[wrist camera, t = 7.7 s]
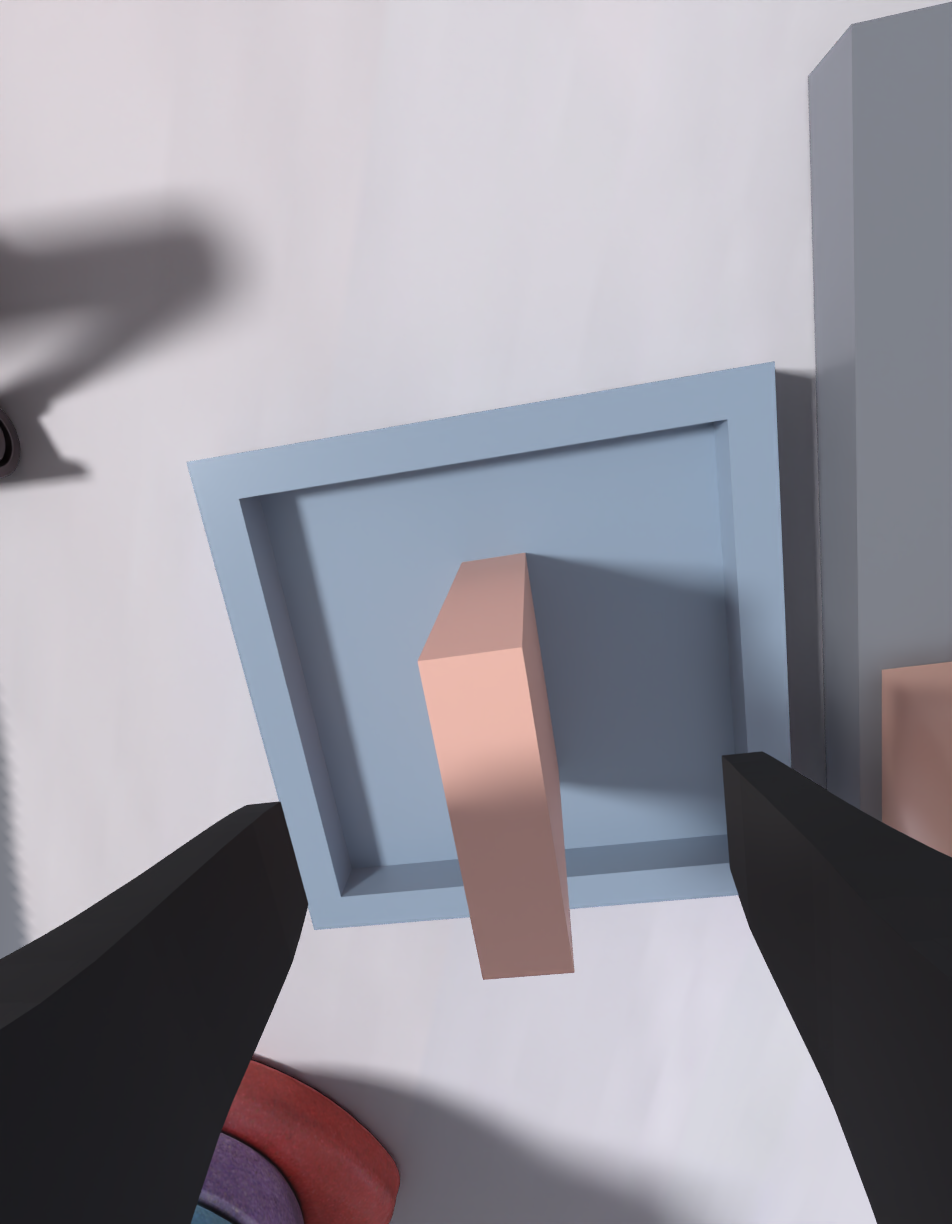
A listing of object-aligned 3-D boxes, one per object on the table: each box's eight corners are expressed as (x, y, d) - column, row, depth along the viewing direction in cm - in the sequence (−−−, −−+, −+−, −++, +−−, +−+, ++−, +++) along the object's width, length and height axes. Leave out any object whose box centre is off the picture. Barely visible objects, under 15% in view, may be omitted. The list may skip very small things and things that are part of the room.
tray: (772, 847, 19) (796, 890, 18) (332, 887, 21) (314, 929, 19) (747, 366, 16) (774, 361, 14) (220, 457, 17) (186, 462, 16)
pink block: (558, 768, 18) (574, 972, 12) (500, 774, 19) (482, 979, 12) (525, 552, 17) (521, 646, 10) (461, 562, 17) (417, 661, 10)
